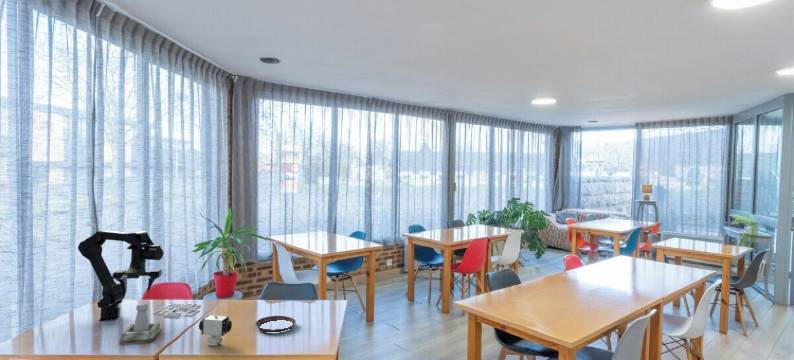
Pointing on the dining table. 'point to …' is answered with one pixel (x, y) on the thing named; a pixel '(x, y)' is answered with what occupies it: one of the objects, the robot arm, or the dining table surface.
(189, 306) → the floor plan model
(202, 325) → the pneumatic valve
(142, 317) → the grey round-headed cylinder
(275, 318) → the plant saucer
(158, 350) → the dining table surface
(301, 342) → the dining table surface
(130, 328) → the holder
